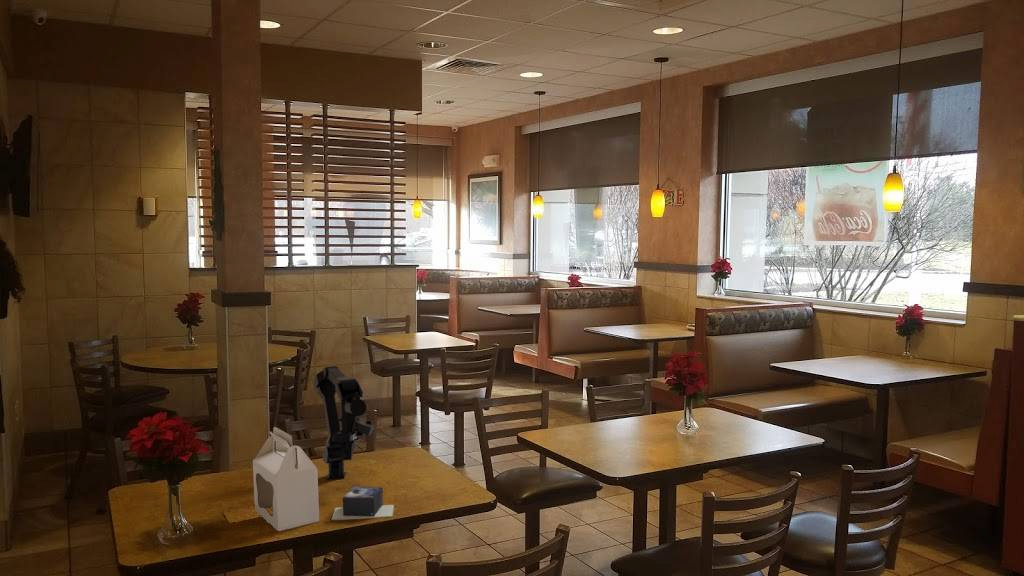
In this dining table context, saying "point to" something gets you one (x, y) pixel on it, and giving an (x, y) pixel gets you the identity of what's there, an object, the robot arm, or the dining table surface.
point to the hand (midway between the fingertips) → (349, 459)
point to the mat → (382, 512)
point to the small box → (362, 501)
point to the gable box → (285, 483)
